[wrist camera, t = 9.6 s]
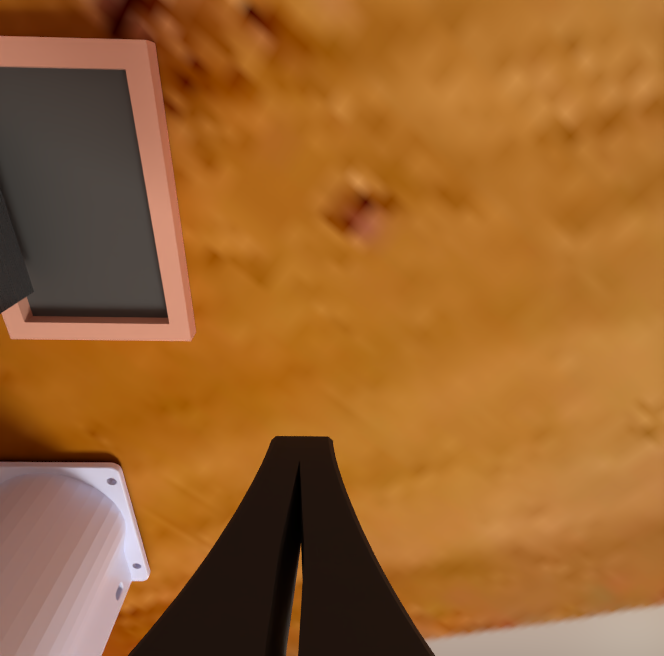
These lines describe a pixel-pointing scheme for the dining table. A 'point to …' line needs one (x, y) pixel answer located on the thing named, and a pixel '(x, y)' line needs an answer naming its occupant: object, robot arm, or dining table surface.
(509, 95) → the dining table surface
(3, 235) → the grey piece
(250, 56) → the dining table surface
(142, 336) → the picture frame
